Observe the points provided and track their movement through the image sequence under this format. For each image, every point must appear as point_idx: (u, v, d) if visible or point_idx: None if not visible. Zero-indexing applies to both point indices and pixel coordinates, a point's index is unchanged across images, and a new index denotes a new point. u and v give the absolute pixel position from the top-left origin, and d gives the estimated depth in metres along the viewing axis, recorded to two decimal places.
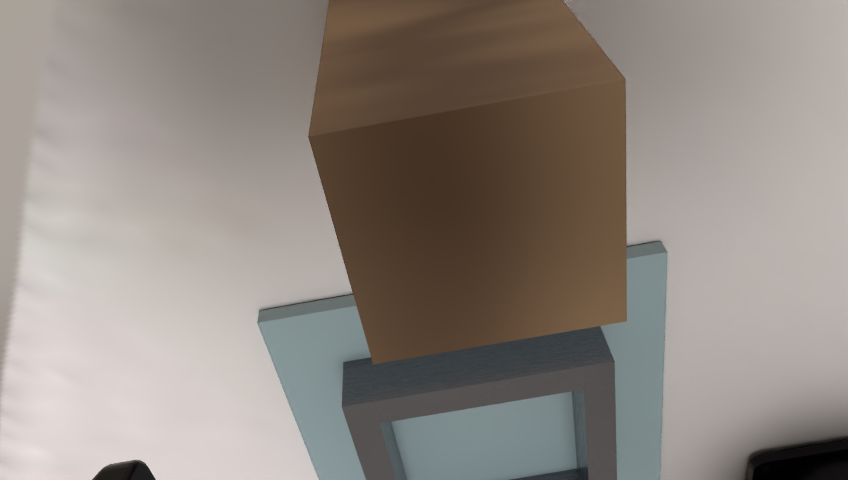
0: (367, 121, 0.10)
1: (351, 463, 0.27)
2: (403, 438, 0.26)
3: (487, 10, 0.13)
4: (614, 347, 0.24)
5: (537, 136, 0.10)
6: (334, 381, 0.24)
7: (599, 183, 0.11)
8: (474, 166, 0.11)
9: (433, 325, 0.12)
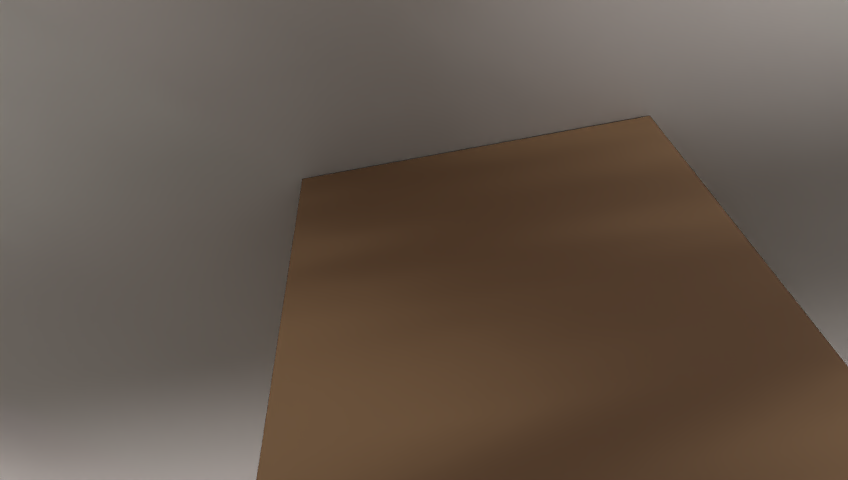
0: None
1: None
2: None
3: (684, 438, 0.05)
4: None
5: None
6: None
7: None
8: None
9: None
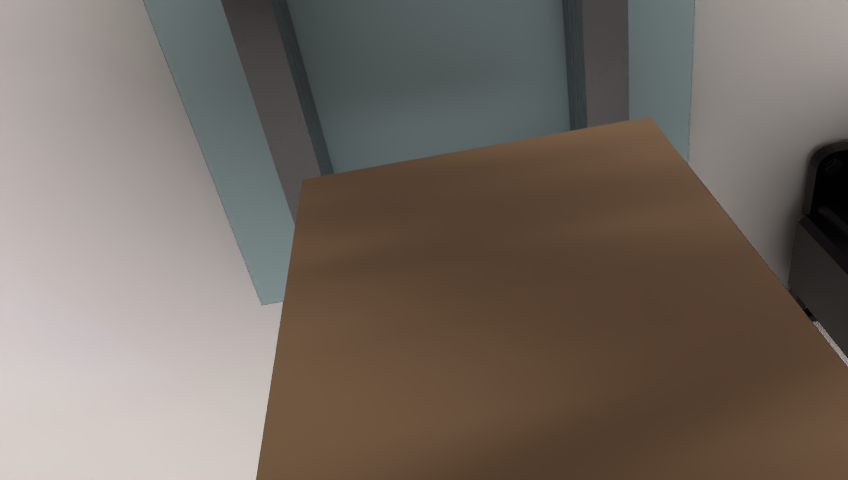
0: None
1: (248, 130, 0.19)
2: (319, 82, 0.18)
3: (685, 440, 0.05)
4: None
5: None
6: None
7: None
8: None
9: None
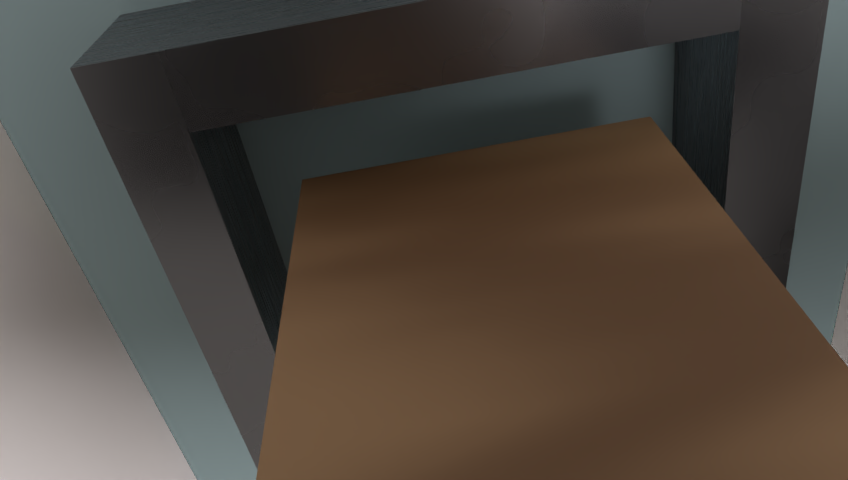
0: None
1: None
2: None
3: (685, 440, 0.05)
4: None
5: None
6: None
7: None
8: None
9: None
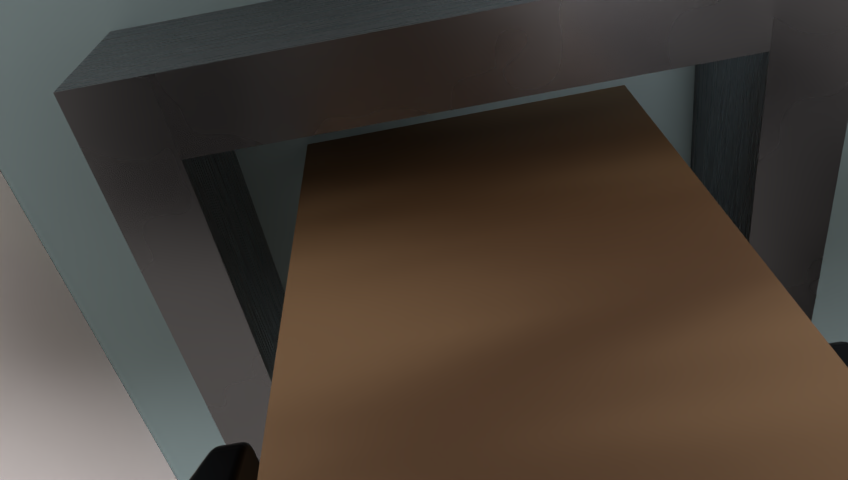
0: None
1: None
2: None
3: (639, 340, 0.06)
4: None
5: None
6: None
7: None
8: None
9: None
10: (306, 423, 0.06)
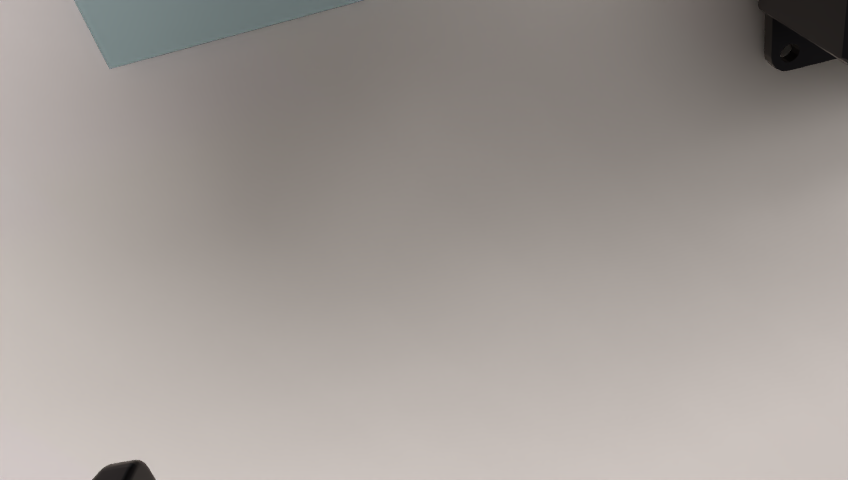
0: None
1: None
2: None
3: None
4: None
5: None
6: None
7: None
8: None
9: None
10: None
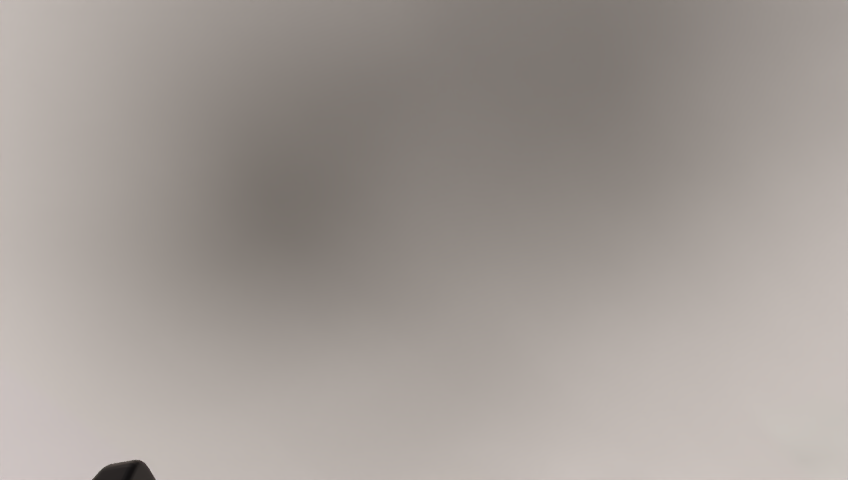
0: None
1: None
2: None
3: None
4: None
5: None
6: None
7: None
8: None
9: None
10: None
